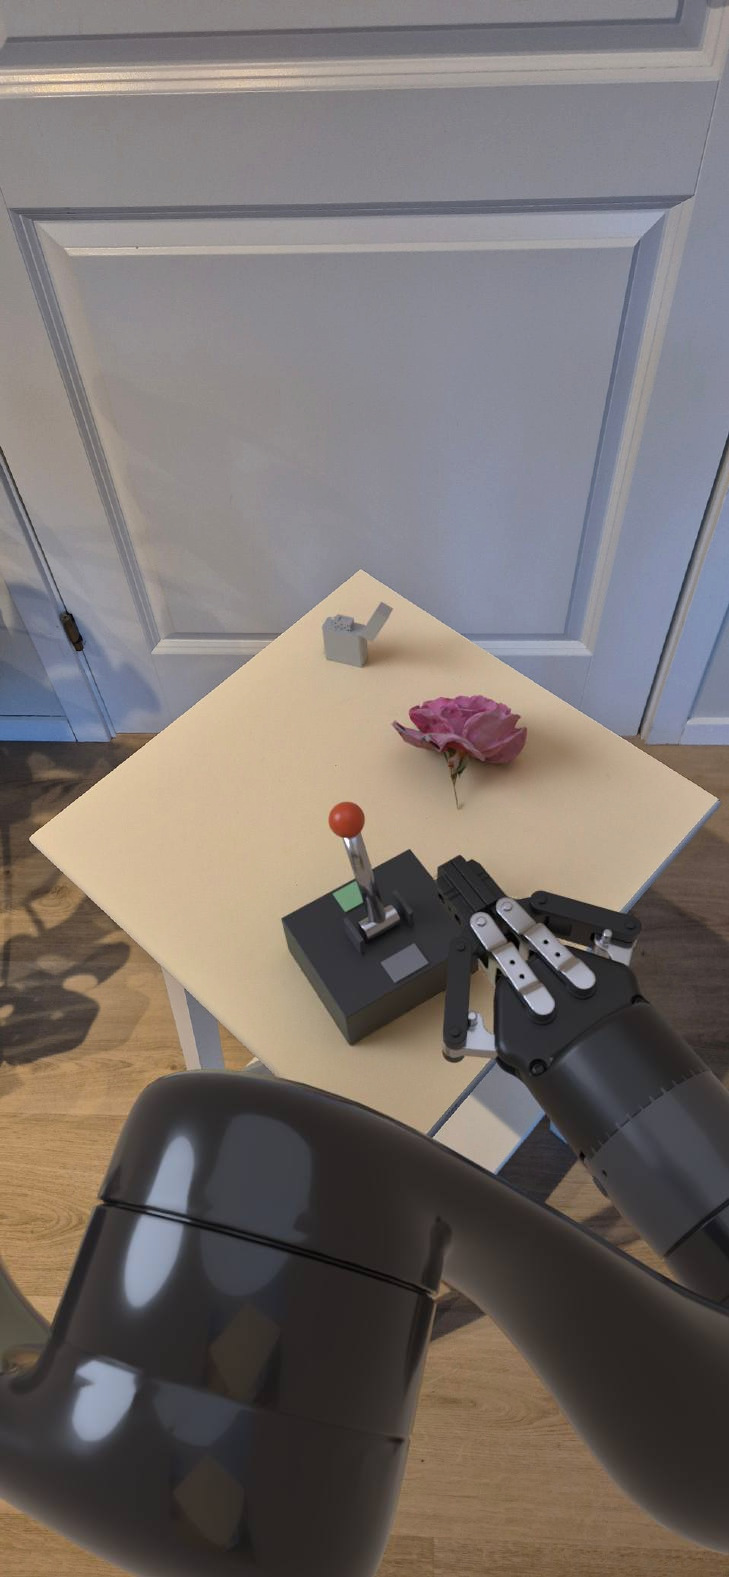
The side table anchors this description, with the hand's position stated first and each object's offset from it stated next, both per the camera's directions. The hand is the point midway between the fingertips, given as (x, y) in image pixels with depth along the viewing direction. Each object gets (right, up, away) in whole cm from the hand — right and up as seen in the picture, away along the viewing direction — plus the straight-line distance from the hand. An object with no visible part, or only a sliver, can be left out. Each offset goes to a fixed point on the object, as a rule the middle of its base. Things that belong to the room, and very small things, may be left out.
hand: (447, 868), depth 57 cm
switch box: (-3, -9, +24) cm, 26 cm away
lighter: (-5, +17, +45) cm, 49 cm away
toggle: (-3, -6, +20) cm, 21 cm away
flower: (+4, +7, +37) cm, 38 cm away
